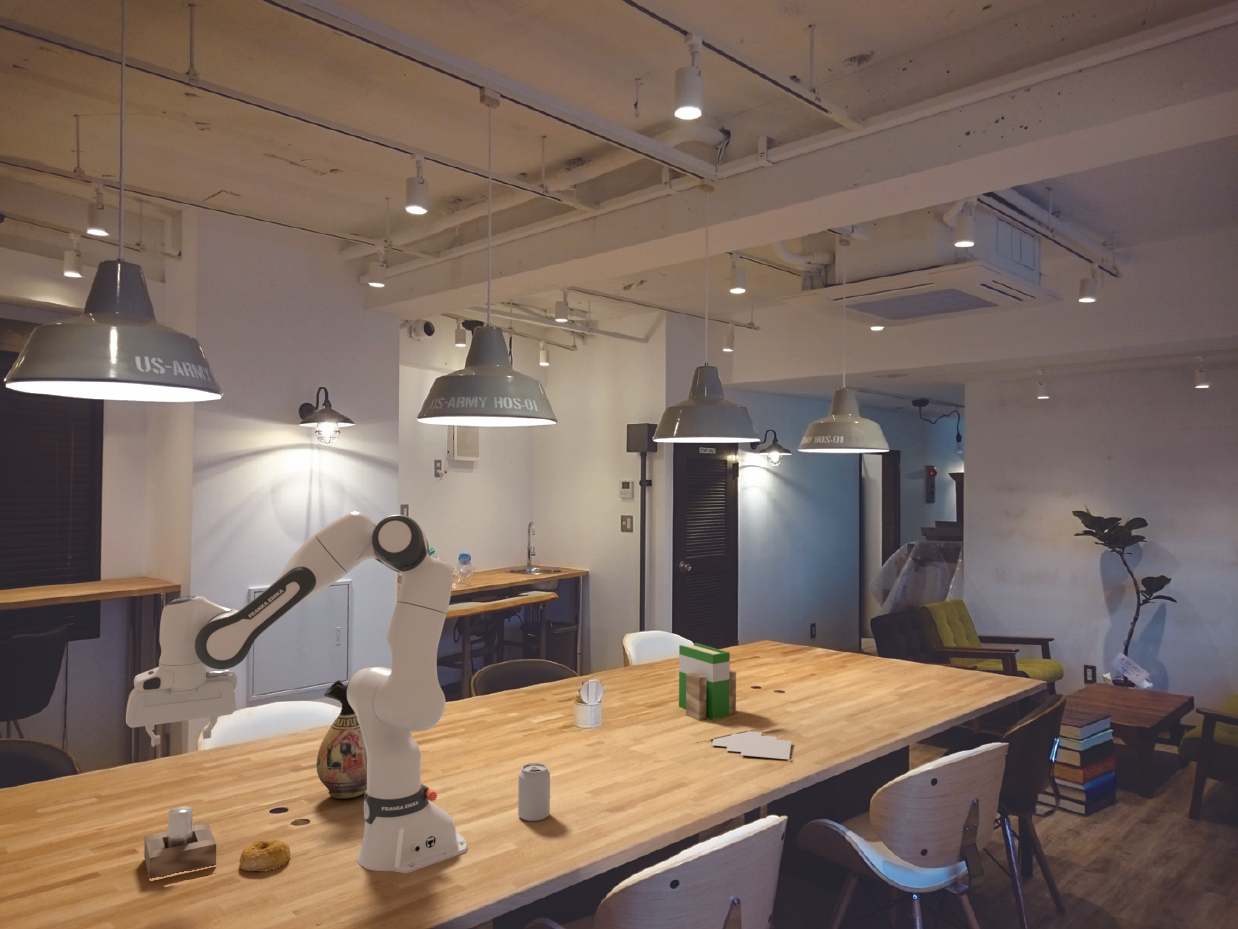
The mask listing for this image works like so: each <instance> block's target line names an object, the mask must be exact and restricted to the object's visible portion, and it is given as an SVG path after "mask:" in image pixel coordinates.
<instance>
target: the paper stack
mask: <svg viewBox="0 0 1238 929" xmlns="http://www.w3.org/2000/svg"><path fill="white" fill-rule="evenodd" d="M762 733H763V732H761V731H752V730H745V731H739V732H736V733H731V734H726V735H722V736H717V737H714V738H713V740H712V743H711V746H717V747H726V749H725V751H727V752H728V751H729V752H737V753H740V756H747V757H756V758H757V757H758V758H759V757H760V758H768V759H778V760H779V759H780V760H790V757H791V747H792V740H786V739H785V740H784V739H778V737H777V736H771V735H770V736H768V735H763V734H762Z"/></svg>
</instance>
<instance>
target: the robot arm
mask: <svg viewBox="0 0 1238 929" xmlns="http://www.w3.org/2000/svg"><path fill="white" fill-rule="evenodd" d="M429 550H430V546H429V542H428V539H427V537H426V533H425V531H424V530H423V528H422V527H421V526H420V525H419V524H418V522H416V521H415V520H414V519H413V518H412V517H409V516H407V515H405V514H403V515H402V514H393V515H389V516H387V517H384V518H382V519H381V520H379V522H378V523H375V521H374V520H373V519H372V518H371V517H370V516H368V515H367V514H365V513H363V512H361V511H360V512H359V511H351V512H347V513H346V514H344V515H341V517H338V518H337V519H335V520H334V521H332V522H330V523H328V524H327V525H326V526H324V527H322V528H321V529H320V530H318V531H317V532H316V533H315V534H314V535H312V536H311V537H310V538H308V539H307V540H306V541H305V542H304V543H303V544H302V545H301V546H300V547H299V548H298V549H297V550H296V551H295V552H294V553H293V555H292V556H291V557H290V559H289V560H288V562H287V563H286V565H285V567H284V568H283V569H282V571H281V573H280V574H279V575H278V577H277V578H276V579H275V580H274V581H273V583H271V584H270V585H269V587H268V588H266V589H265V590H263V591H262V592H261V593H259V594H258V595H257V596H256V597H254V599H252V600H251V601H249V602H248V603H247V604H246V605H245V606H243V608H241V609H239V610H238V609H234V608H230V607H225V606H222V605H219V604H217V603H215V602H213V601H210V600H209V599H207V598H206V597H205V596H203V595H199V594H198V595H197V594H196V595H194V594H193V595H188V596H182V597H178V598H175V599H173V600H171V601H169V602H168V603H167V604H165V606H164V607H163V608H162V613H161V616H160V624H159V645H160V649H161V653H160V656H159V660H158V666H157V667H154V668H152V669H150V670H147V671H146V670H145V671H144V672H141V673H139V674H137V675H135V676H134V679H133V685H134V688H133V689H132V690H131V692H130V693H129V695H128V699H127V704H126V712H125V723H126V725H127V726H128V727H129V728H133V729H134V728H140V727H145V731H146V732H147V734H148V735H149V737H150V738H151V742H150V743H151V747H152V748H153V747H158V746H161V736H160V734H157V735H156V734H155V733H154V732H153V731H154V730H155V725H162V724H163V725H164V724H170V723H177V722H185V721H192V720H200V719H208V721H209V724H208V725H207V727H206V728H202V735H201V736H202V737H201V738H202V739H203V740H207V739H212V731H213V729H214V727H215V726H216V724H217V723H218V717H221V716H222V717H223V716H231V715H233V713H234V712H235V711H236V708H237V704H236V703H237V702H236V694H235V689H236V688H237V685H238V676H237V675H236V673H235V672H233V671H230V670H229V669H231V668H233V667H236V666H238V665H239V664H240V663H242V662H243V661H244V659H245V658H246V657H247V656H248V655H249V652H250V651H251V648H252V646H253V644H254V642H255V641H256V639H258V637H259V636H260V635H261V634H262V633H264V632H265V631H266V630H267V629H268V628H269V627H271V626H272V625H274V624H275V623H276V622H277V621H278V620H279V619H281V617H283V616H284V615H286V613H288V611H290V610H291V609H292V608H294V607H295V606H297V605H299V604H300V603H301V602H303V601H304V600H307V599H308V598H311V597H312V596H314V595H316V594H318V593H319V592H321V591H323V590H325V589H327V588H328V587H330V586H332V585H333V584H335V583H336V582H338V581H339V580H341V579H342V578H343V577H345V576H346V575H347V574H348V573H350V572H351V571H352V570H353V569H354V568H356V567H357V566H358V565H359V564H361V563H363V562H364V561H367V560H369V559H374V560H376V561H378V562H379V563H380V564H382V565H384V566H385V567H387V568H389V569H390V570H392V571H393V572H398V573H400V575H401V586H400V588H399V589H400V590H399V593H398V596H397V600H396V604H395V606H394V609H393V614H392V615H391V619H390V622H389V626H388V629H387V632H386V642H387V644H388V645H389V647H390V650H391V657H392V658H391V660H392V662H391V663H392V664H391V668H389V667H385V666H372V667H371V666H370V667H366V668H362V669H359V670H358V671H357V672H356V673H355V674H354V675H353V676H352V677H351V679H349V681H350V682H349V681H348V682H349V684H348V683H347V685H348V687H347V700H348V702H349V704H350V706H351V707H352V709H353V710H354V712H355V714H356V716H357V719H358V722H359V725H360V728H361V732H362V736H363V740H364V744H365V749H366V757H367V790H366V791H365V793H364V800H363V816H364V817H363V818H364V820H365V821H364V830H363V836H362V842H361V847H360V849H359V854H358V856H357V862H358V864H359V865H360V866H361V867H362V866H363V867H362V868H364V869H366V870H370V871H376V872H397V873H399V874H408V873H412V872H414V871H418V870H421V869H423V868H425V867H428V866H432V865H434V864H436V863H440V862H442V861H445V860H449V859H451V858H454V857H456V856H459V855H462V854H465V853H466V852H467V850H468V844H467V841H466V839H465V838H464V836H462V834H460V833H459V832H458V831H457V829H456V825H455V821H454V819H453V818H452V817H451V815H449V813H448V812H446V811H445V810H444V809H443V808H441V807H439V806H437V805H436V804H434V803H433V802H434V801H436V800H437V798H438V794H437V792H436V791H435V790H434V789H432V788H429V786H427V785H425V784H423V783H422V782H421V781H422V752H421V751H422V750H421V749H420V746H419V745H418V743H417V741H416V740H415V738H414V736H413V733H412V732H420V731H421V732H423V731H428V730H430V729H432V728H434V727H435V726H436V725H437V724H438V723H439V722H440V720H441V719H442V717H443V715H444V712H445V710H446V709H445V708H446V696H445V693H444V691H443V689H442V688H441V685H440V682H439V678H438V676H439V675H438V663H437V662H438V648H439V644H440V640H441V636H442V633H443V629H444V628H443V627H444V624H445V622H446V617H447V613H448V610H449V607H450V606H449V605H450V601H451V595H452V592H453V591H452V590H453V583H454V582H453V580H454V572H453V569H452V568H451V567H450V566H449V565H448V564H447V563H446V562H445V561H443V560H442V559H439V558H435V557H433V556H431V555H430V554H429V553H430V552H429ZM207 667H208V668H211V669H214V670H215V671H207ZM218 670H221V671H218Z"/></svg>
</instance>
